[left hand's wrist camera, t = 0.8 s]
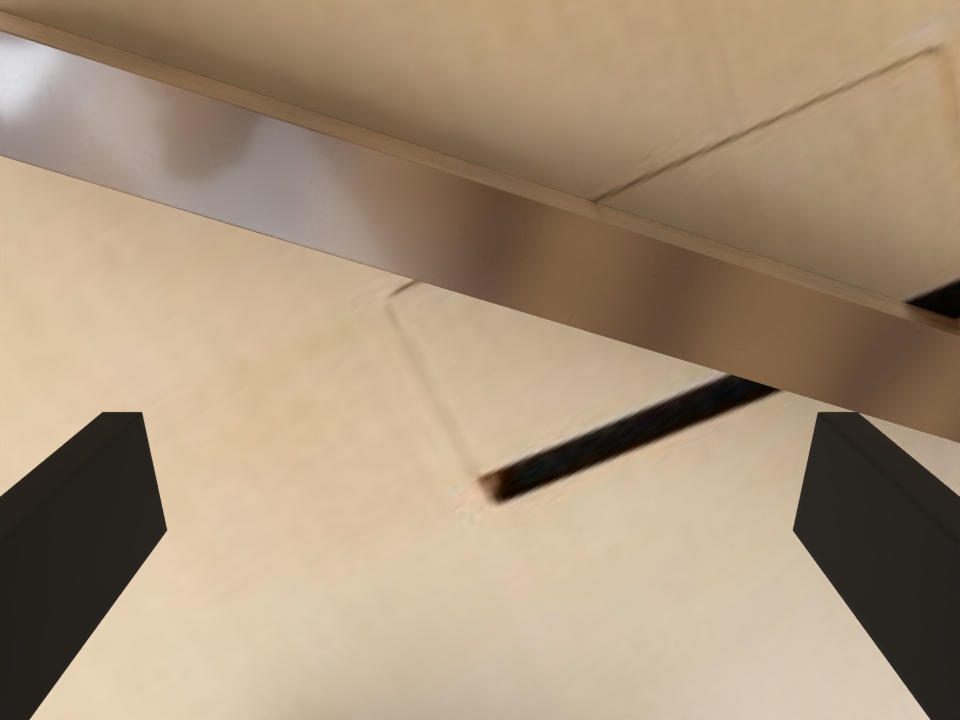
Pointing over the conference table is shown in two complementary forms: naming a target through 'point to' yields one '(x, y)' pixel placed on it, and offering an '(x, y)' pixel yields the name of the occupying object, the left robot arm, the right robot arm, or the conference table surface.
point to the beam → (466, 228)
